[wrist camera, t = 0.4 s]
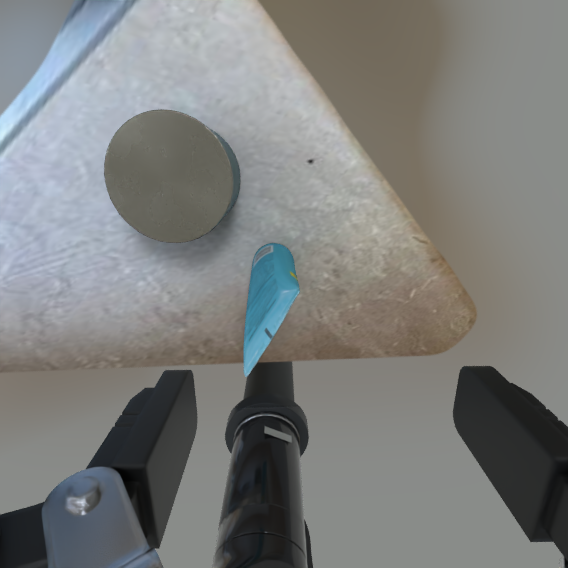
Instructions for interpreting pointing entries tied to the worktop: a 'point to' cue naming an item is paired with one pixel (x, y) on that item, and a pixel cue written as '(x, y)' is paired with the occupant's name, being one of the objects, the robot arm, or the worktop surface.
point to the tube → (268, 299)
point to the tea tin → (170, 176)
